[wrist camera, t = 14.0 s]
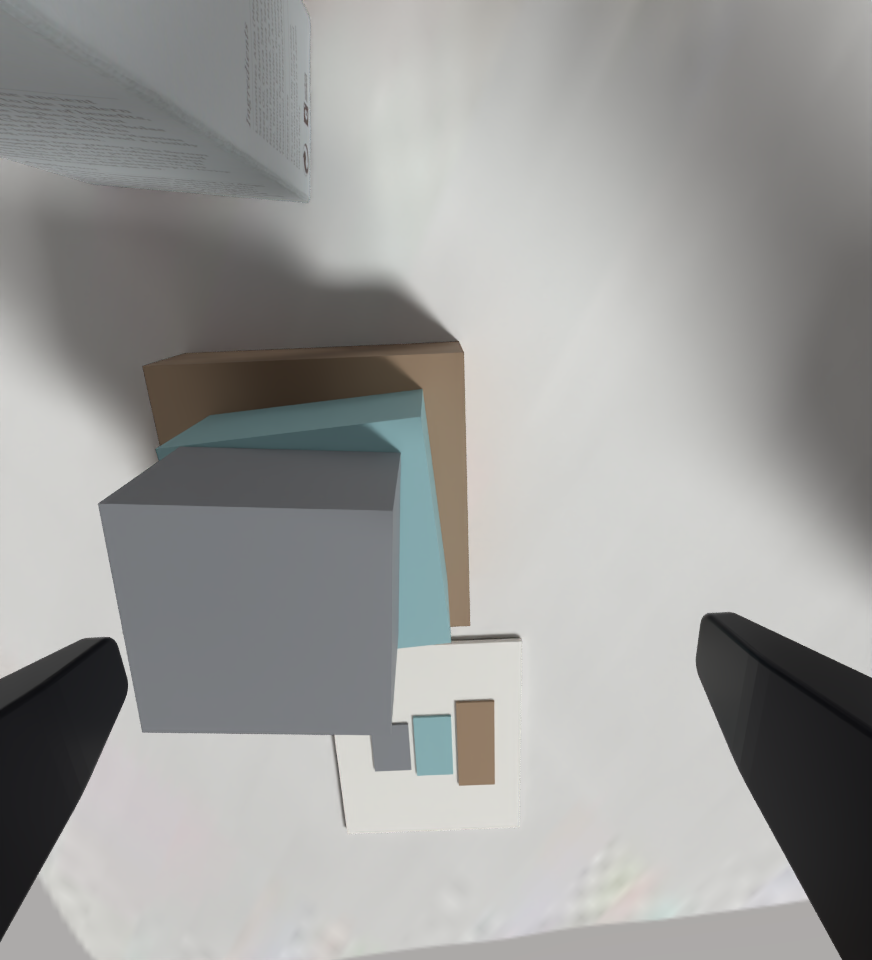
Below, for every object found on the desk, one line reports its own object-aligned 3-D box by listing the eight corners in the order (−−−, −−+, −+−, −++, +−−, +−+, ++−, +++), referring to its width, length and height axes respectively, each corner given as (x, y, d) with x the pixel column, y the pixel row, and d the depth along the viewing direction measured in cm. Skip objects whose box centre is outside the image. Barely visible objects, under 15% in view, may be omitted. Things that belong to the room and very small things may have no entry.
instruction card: (521, 638, 20) (522, 643, 19) (518, 823, 23) (519, 830, 22) (323, 646, 20) (322, 651, 19) (348, 829, 23) (347, 836, 22)
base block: (458, 339, 16) (464, 352, 14) (464, 574, 19) (469, 626, 16) (191, 351, 17) (142, 366, 14) (235, 584, 19) (202, 636, 16)
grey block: (400, 452, 11) (392, 510, 9) (398, 635, 13) (390, 735, 10) (179, 446, 11) (97, 504, 8) (204, 631, 13) (142, 731, 10)
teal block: (422, 388, 14) (421, 416, 11) (447, 578, 16) (451, 643, 13) (209, 414, 14) (155, 448, 11) (259, 599, 16) (222, 668, 13)
